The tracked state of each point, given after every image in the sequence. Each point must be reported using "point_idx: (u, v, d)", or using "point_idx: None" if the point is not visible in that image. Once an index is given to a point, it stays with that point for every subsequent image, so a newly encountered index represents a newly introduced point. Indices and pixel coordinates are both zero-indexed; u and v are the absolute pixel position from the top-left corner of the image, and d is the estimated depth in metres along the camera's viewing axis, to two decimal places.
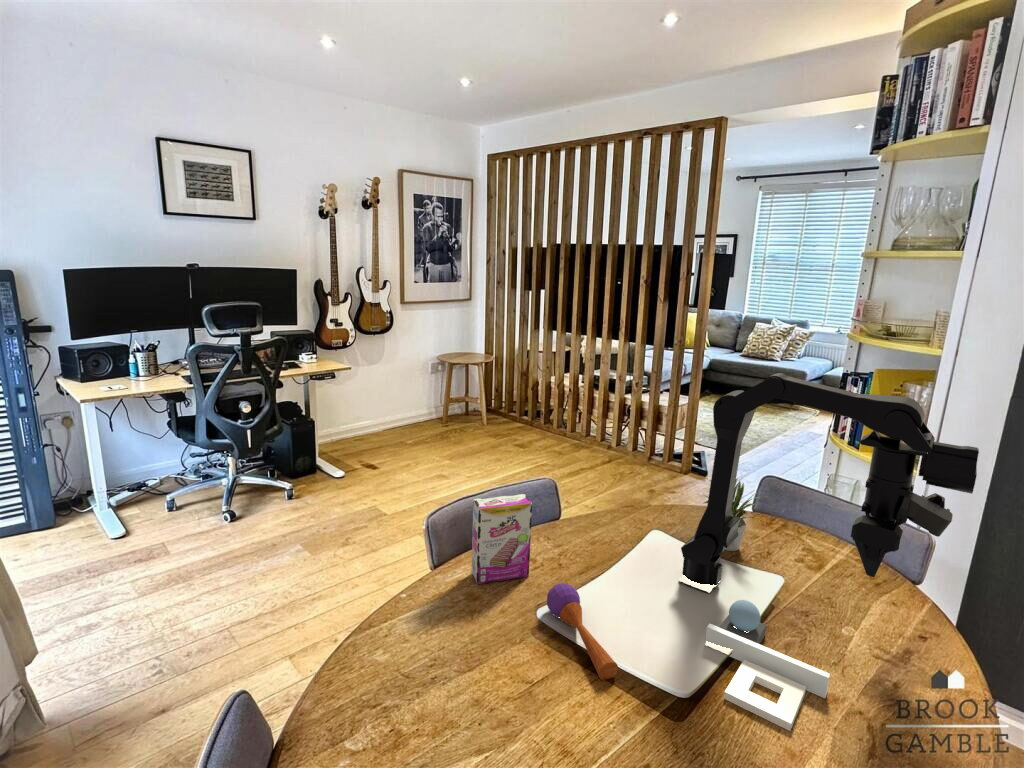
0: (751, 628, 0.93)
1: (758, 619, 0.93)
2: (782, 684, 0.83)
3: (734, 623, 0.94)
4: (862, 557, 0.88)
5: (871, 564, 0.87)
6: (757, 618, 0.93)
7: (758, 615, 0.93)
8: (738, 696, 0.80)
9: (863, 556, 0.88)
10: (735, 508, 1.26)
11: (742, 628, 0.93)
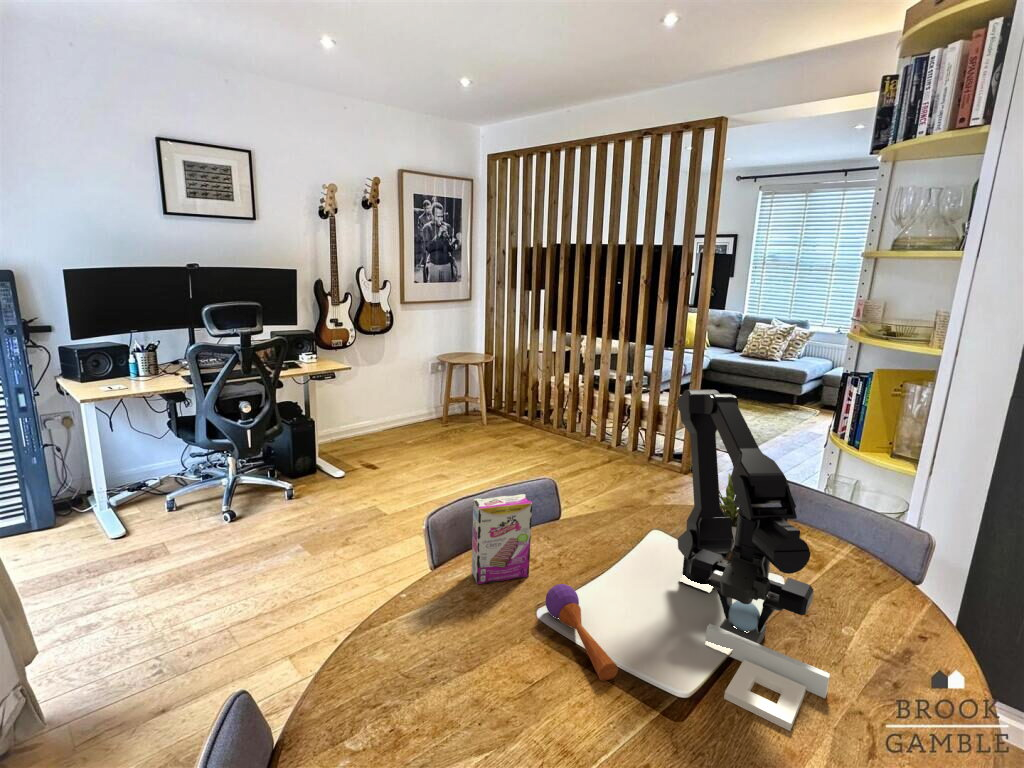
0: (751, 628, 0.93)
1: (758, 619, 0.93)
2: (782, 684, 0.83)
3: (734, 623, 0.94)
4: None
5: None
6: (757, 618, 0.93)
7: (758, 615, 0.93)
8: (738, 696, 0.80)
9: None
10: (735, 508, 1.26)
11: (742, 628, 0.93)
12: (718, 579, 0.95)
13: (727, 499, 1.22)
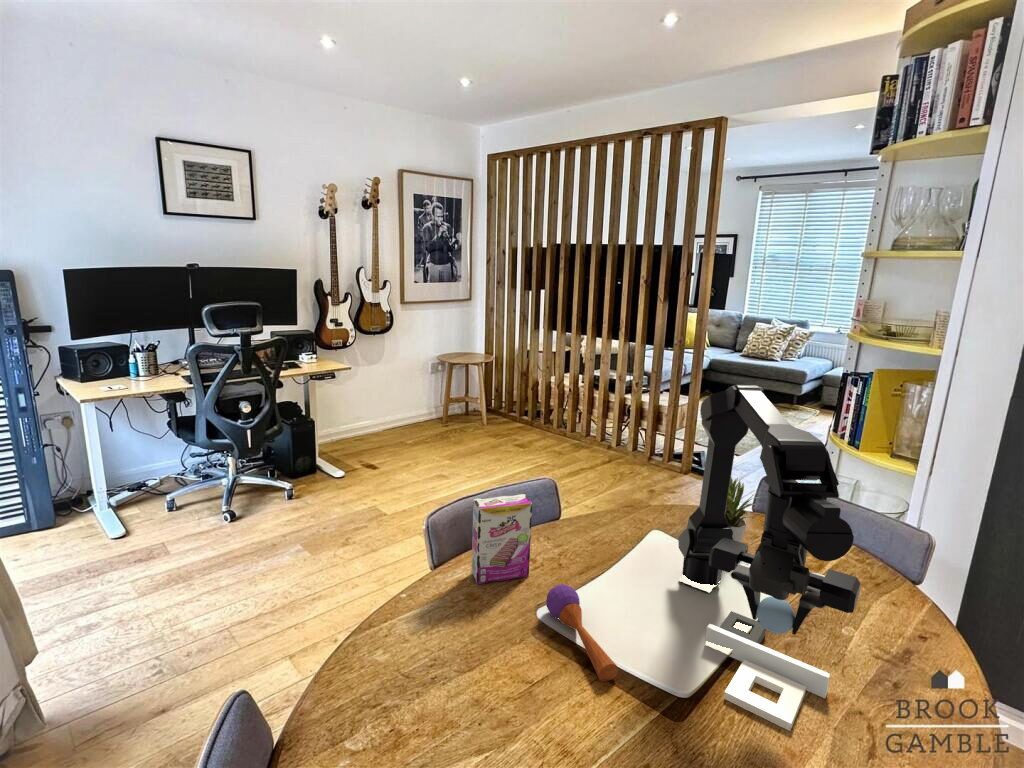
0: (785, 630, 0.78)
1: (793, 619, 0.78)
2: (782, 684, 0.83)
3: (764, 624, 0.79)
4: None
5: None
6: (791, 618, 0.78)
7: (793, 614, 0.78)
8: (738, 696, 0.80)
9: None
10: (735, 508, 1.26)
11: (774, 630, 0.78)
12: (744, 572, 0.80)
13: (727, 499, 1.22)
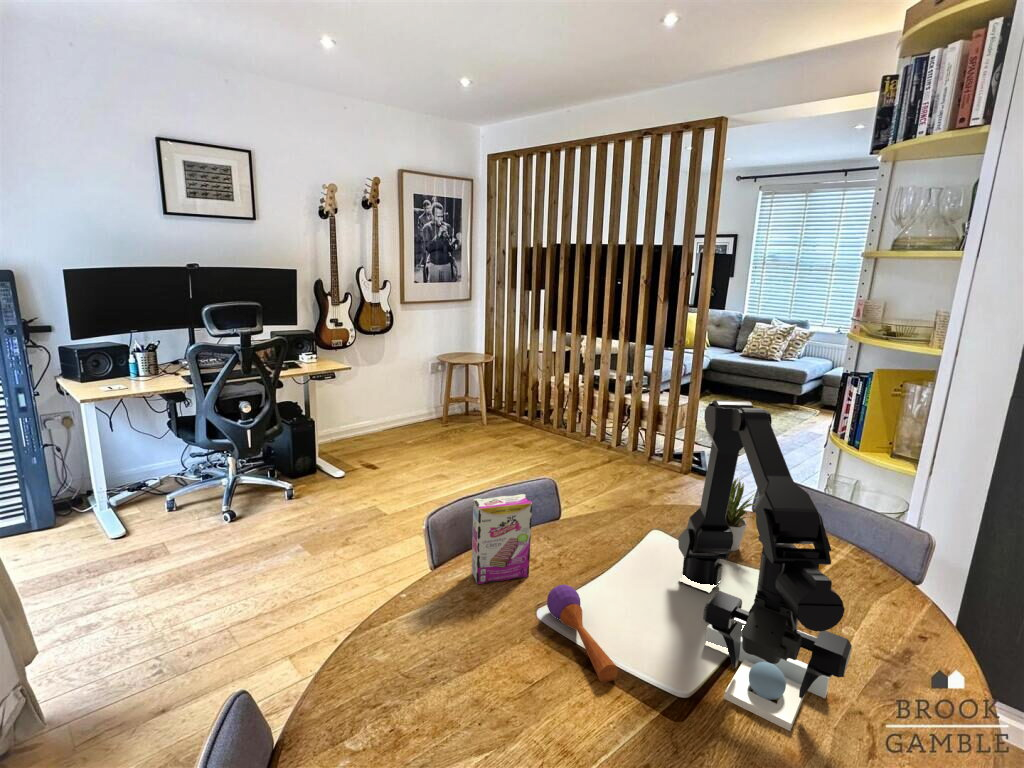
0: (775, 697, 0.80)
1: (783, 686, 0.80)
2: None
3: (755, 690, 0.81)
4: None
5: None
6: (782, 686, 0.80)
7: (783, 681, 0.80)
8: (738, 696, 0.80)
9: None
10: (735, 508, 1.26)
11: (765, 697, 0.80)
12: None
13: None
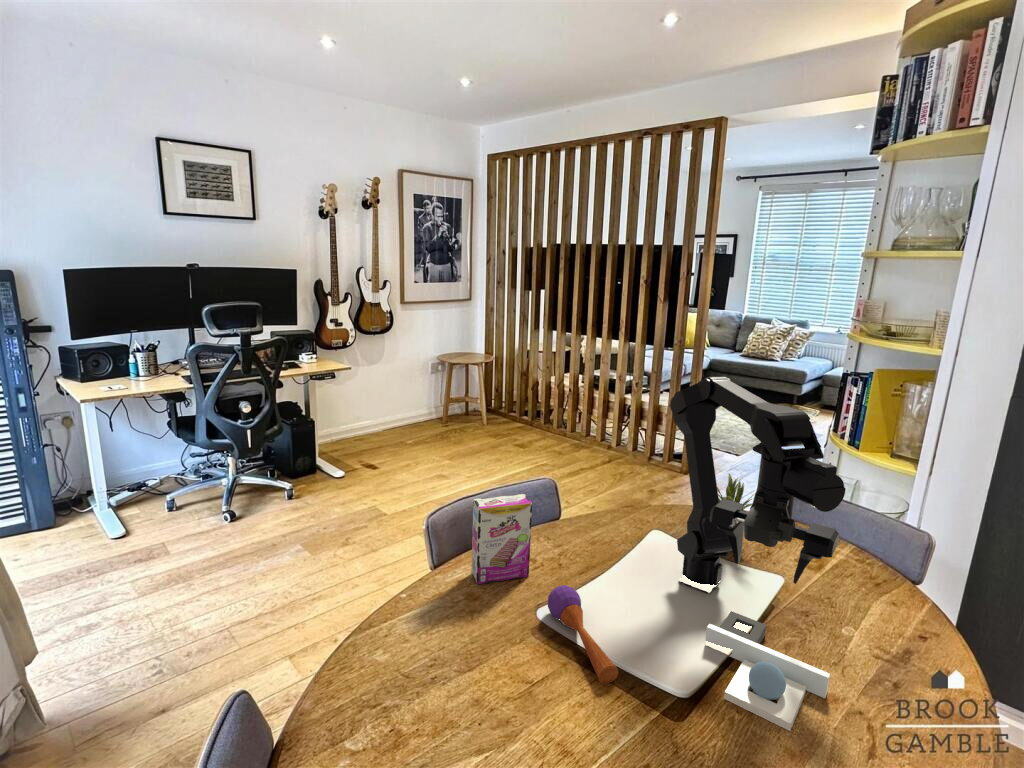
0: (775, 697, 0.80)
1: (783, 686, 0.80)
2: None
3: (755, 690, 0.81)
4: None
5: None
6: (782, 686, 0.80)
7: (783, 681, 0.80)
8: (738, 696, 0.80)
9: None
10: None
11: (765, 697, 0.80)
12: None
13: (727, 499, 1.22)
